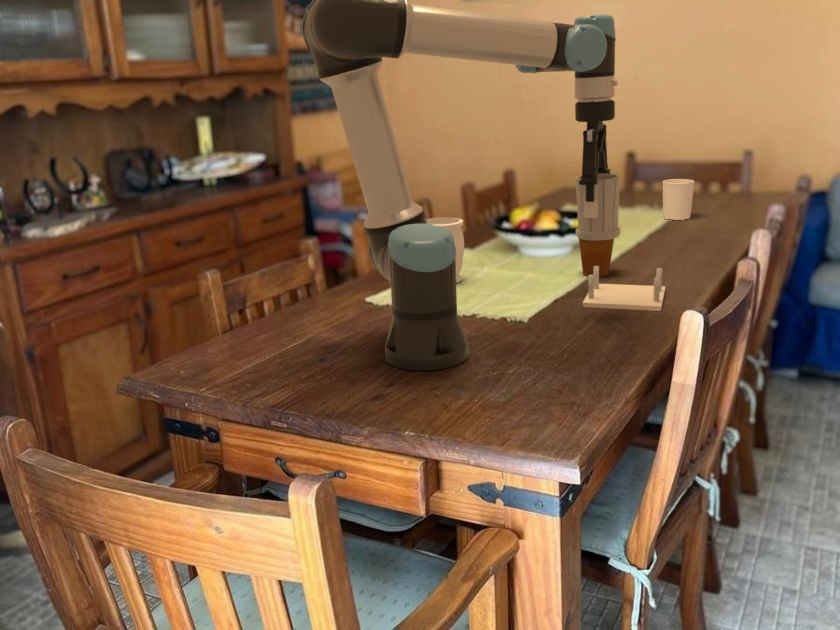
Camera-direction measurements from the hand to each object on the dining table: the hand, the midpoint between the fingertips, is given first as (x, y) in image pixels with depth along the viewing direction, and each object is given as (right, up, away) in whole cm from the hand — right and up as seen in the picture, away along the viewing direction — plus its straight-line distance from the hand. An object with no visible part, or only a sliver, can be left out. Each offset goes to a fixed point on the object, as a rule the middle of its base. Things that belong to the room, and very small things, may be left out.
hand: (595, 212), depth 164 cm
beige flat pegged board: (+9, -17, +14) cm, 24 cm away
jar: (-29, -13, +35) cm, 48 cm away
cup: (0, -5, +1) cm, 5 cm away
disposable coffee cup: (+8, -11, +36) cm, 38 cm away
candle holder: (+47, +10, +98) cm, 109 cm away
